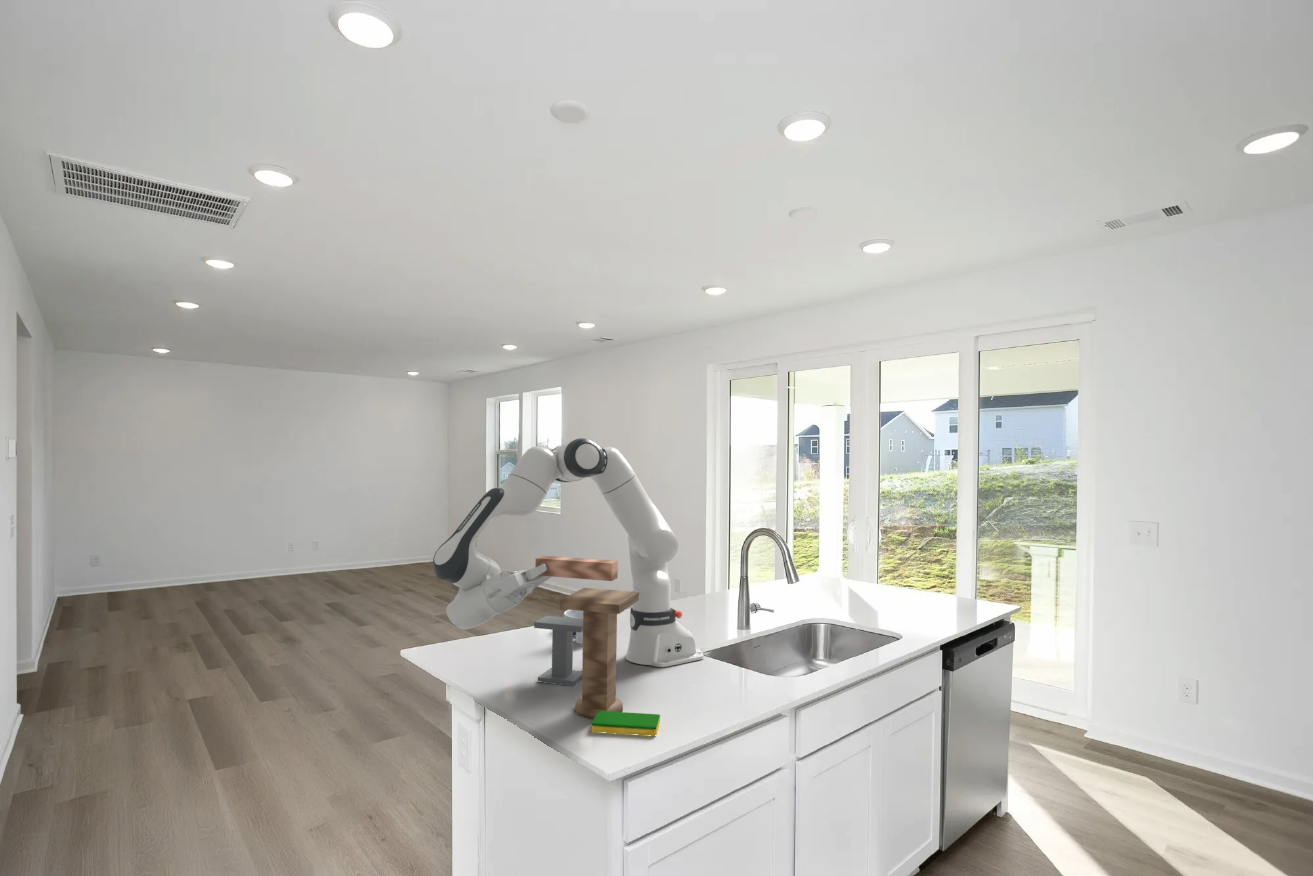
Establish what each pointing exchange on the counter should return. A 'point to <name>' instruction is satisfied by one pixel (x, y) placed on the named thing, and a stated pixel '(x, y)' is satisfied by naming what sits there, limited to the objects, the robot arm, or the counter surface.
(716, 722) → the counter surface
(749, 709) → the counter surface
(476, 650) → the counter surface
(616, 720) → the dish sponge
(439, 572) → the robot arm
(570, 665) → the low stand
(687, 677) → the counter surface
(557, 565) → the block
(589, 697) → the walnut pedestal
